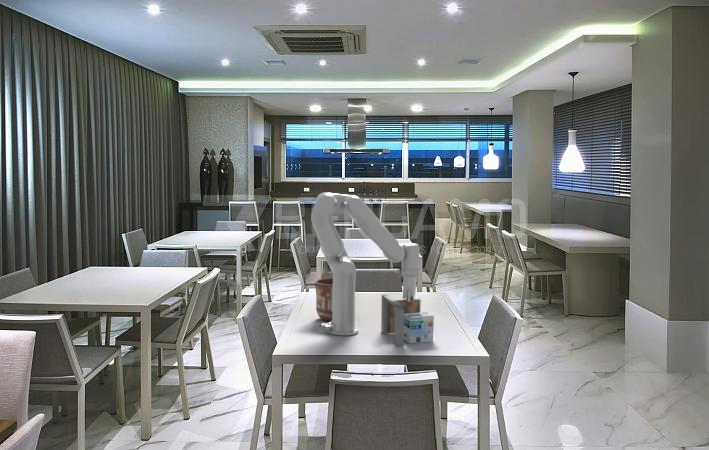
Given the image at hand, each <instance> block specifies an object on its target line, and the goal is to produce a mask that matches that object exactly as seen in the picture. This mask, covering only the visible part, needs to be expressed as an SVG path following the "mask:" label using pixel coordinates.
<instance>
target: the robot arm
mask: <svg viewBox="0 0 709 450" xmlns="http://www.w3.org/2000/svg"><path fill="white" fill-rule="evenodd" d="M333 214H340V215H341V214H342V215H348V216H349V218H350V219H351V220H352V221H353V222H354V223H355V224H356V226H357V227H358V228H359V229H360V230H361V231H362V233H363V234H364V235H365V236H366V237H367V238H368V239H369V240H370V241H372V242H373V243H375V245H376V246H377V247H378V248H379V249H380V251H382V253H383V256H384V257H385V258H386V259H387V260H388V261H390V262H392V263H394V264H395V263H400V262H401V277H403V282H402V283H403V285H402V300H404V299H405V298H406V300H408V303H410V300H413V299H414V298H415V297H416V293H417V292H416V290H417V277H419V276H420V245H419V244H418V243H415V242H414V243H413V242H410V243H409V242H406V243H400V242H399V241H398V240H397V239H396V238H395V236H394V235H393V234H392V233H391V232H390V231H389V230H388V229H387V227H386V226H385V225H384V224H383V223H382V221H381V220H380V219H379V218H378V217H377V215H376V214H375V213H374V212H373V210H371V209H370V207H369V206H368V205H367V204H366V202H365V201H364V200H363V199H362V198H361V197H359V196H357V195H355V194H354V195H353V194H341V193H335V192H334V193H332V192H321V193H319V194H318V195H317V196H316V198H315V203H314V205H313V208H312V211H311V215H310V216H311V218H310V219H311V224H312V227H313V229H314V232H315V234H316V237H317V239H318V241H319V247H320V250H321V252H322V254H323V257H324V258H325V260H326V262H327V264H328V266H329V269H330V271H331V272H332V278H333V292H332V296H333V304H332V321H331V322H324V323H321V325H320V327H321V329H325V330H328V333H329V334H331V335H332V336H333V335H335V336H345V337H347V336H353V335H356V334H359V329H358V328H357V327H356V323H355V321H356V278H357V269H356V266H355V263H354V262H353V261H352V260H351V258H350V257H349V255H348V253H347V252H348V251H347V250H346V248H345V244H344V241H343V239H342V238H341V236H340V234H339V232H338V229H337V228H336V225H335V222H334V220H333Z"/></svg>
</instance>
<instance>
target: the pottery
mask: <svg viewBox="0 0 709 450" xmlns="http://www.w3.org/2000/svg"><path fill="white" fill-rule="evenodd" d="M314 286H315V299H316V301H315V309H316V313H317V315H318V317H319V318H320V319H321V320H322V321H323V322H324V323H331V321H332V304H333V296H332V292H333V277H326V278H320V279H317V280H315V281H314Z"/></svg>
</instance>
